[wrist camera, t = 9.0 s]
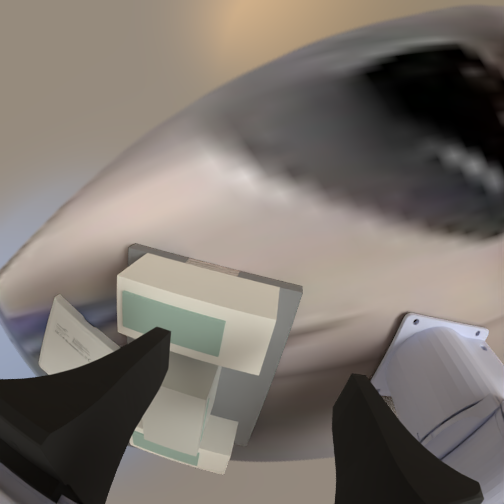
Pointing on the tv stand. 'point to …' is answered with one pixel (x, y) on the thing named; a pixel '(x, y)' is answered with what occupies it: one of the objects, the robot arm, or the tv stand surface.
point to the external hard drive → (71, 340)
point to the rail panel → (210, 337)
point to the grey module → (182, 404)
